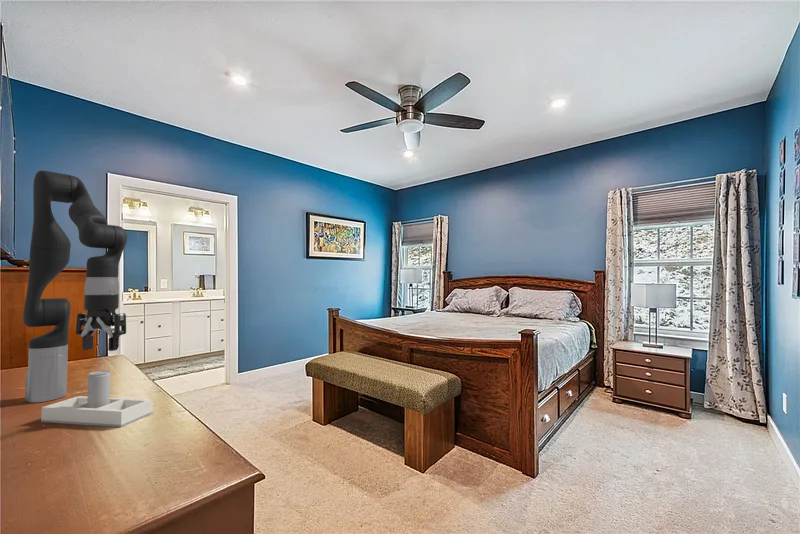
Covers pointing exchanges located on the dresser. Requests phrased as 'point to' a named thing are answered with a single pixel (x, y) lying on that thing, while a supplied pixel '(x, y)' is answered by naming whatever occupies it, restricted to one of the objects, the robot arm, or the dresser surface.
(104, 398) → the beverage can
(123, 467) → the dresser surface
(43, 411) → the can caddy
